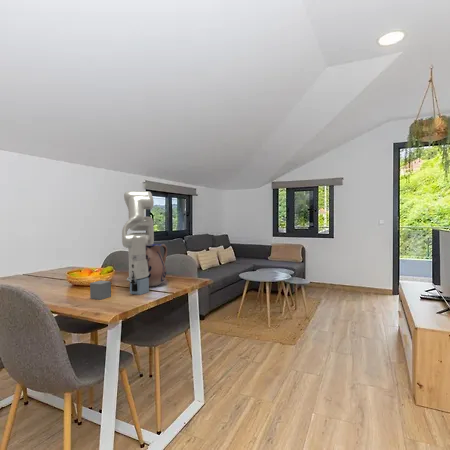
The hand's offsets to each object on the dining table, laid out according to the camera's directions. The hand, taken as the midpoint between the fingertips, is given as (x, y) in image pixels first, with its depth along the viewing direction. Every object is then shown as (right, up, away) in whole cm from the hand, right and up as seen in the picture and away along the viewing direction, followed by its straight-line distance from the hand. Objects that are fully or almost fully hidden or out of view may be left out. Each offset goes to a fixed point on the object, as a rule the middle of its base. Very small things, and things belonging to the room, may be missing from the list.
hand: (139, 289), depth 171 cm
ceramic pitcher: (+3, -1, +21) cm, 21 cm away
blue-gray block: (0, -2, 0) cm, 2 cm away
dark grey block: (-18, -2, -9) cm, 20 cm away
